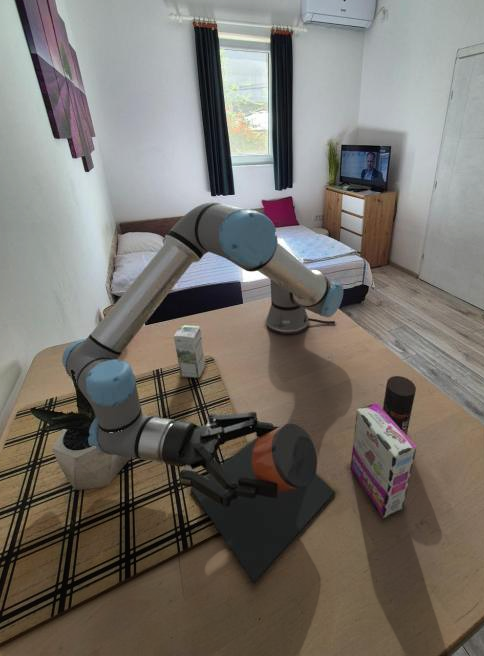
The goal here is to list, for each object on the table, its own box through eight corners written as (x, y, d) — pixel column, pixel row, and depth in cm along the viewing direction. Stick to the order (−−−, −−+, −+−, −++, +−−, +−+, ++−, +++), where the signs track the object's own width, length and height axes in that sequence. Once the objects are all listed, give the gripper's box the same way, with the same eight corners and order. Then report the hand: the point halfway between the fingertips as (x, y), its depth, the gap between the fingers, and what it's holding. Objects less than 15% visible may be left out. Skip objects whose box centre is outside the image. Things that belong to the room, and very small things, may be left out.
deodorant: (387, 420, 79) (395, 372, 73) (410, 435, 75) (420, 385, 69) (374, 435, 76) (381, 385, 70) (397, 451, 72) (407, 400, 66)
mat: (268, 430, 77) (268, 429, 76) (334, 493, 63) (334, 491, 63) (191, 490, 64) (190, 488, 64) (254, 584, 51) (253, 582, 50)
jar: (254, 497, 54) (249, 432, 60) (296, 493, 60) (287, 434, 66) (280, 488, 51) (272, 421, 57) (322, 484, 57) (310, 424, 63)
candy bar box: (404, 508, 61) (418, 447, 54) (383, 520, 59) (394, 458, 53) (368, 457, 70) (376, 400, 64) (349, 466, 69) (355, 408, 62)
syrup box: (206, 365, 98) (201, 324, 92) (199, 379, 93) (193, 336, 87) (187, 364, 98) (181, 323, 93) (179, 377, 93) (172, 335, 87)
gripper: (198, 410, 74) (293, 424, 71) (138, 516, 54) (268, 545, 50) (194, 384, 71) (293, 398, 68) (130, 487, 51) (267, 514, 47)
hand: (283, 460), depth 59 cm, fingers closed on jar, 10 cm apart
